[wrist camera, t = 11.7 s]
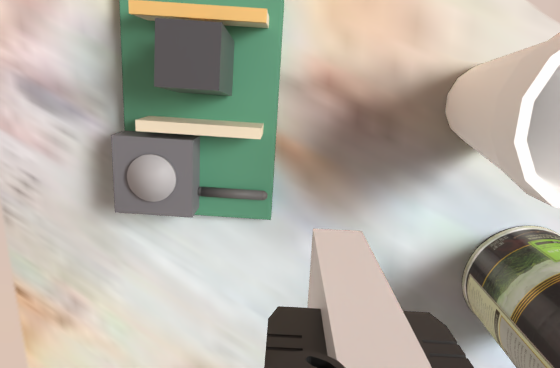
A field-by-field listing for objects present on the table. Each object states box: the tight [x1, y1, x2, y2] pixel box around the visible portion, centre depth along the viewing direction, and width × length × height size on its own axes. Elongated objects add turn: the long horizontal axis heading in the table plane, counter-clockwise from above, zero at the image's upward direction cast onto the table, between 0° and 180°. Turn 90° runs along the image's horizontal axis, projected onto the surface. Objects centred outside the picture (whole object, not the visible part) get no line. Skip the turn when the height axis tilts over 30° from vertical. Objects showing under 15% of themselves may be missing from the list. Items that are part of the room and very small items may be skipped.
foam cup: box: [445, 33, 560, 208], centre depth 25 cm, size 10×9×13 cm
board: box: [111, 0, 284, 220], centre depth 30 cm, size 17×12×5 cm
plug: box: [154, 18, 235, 96], centre depth 27 cm, size 4×4×6 cm
